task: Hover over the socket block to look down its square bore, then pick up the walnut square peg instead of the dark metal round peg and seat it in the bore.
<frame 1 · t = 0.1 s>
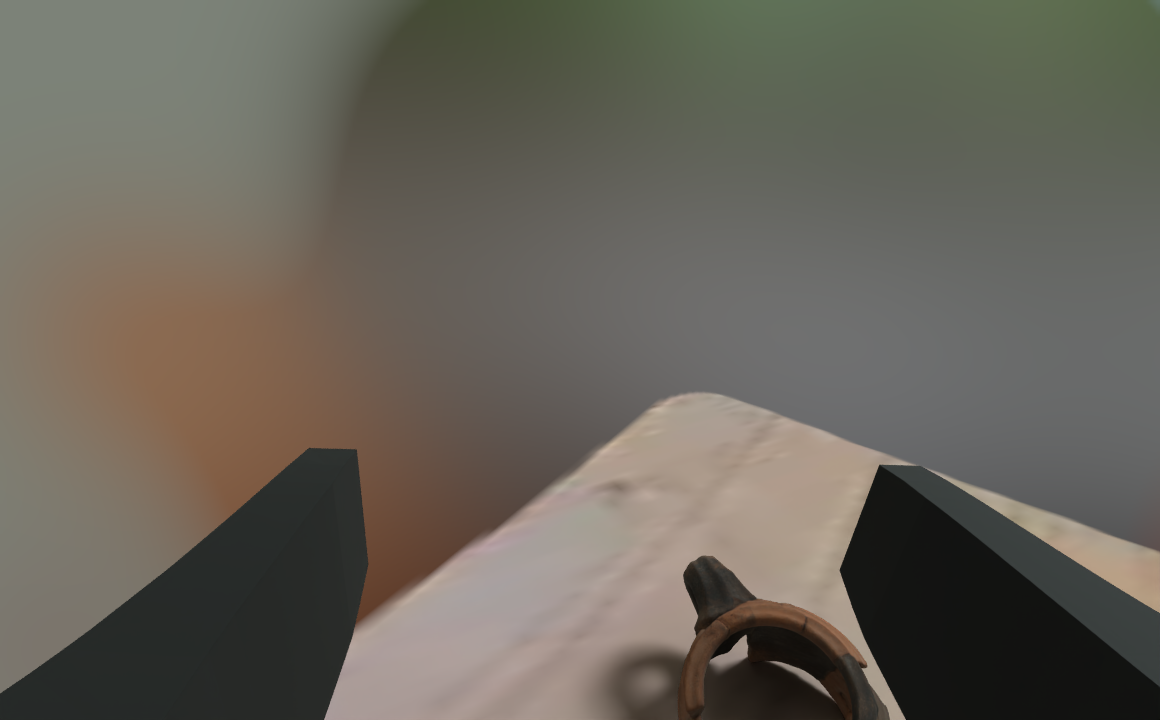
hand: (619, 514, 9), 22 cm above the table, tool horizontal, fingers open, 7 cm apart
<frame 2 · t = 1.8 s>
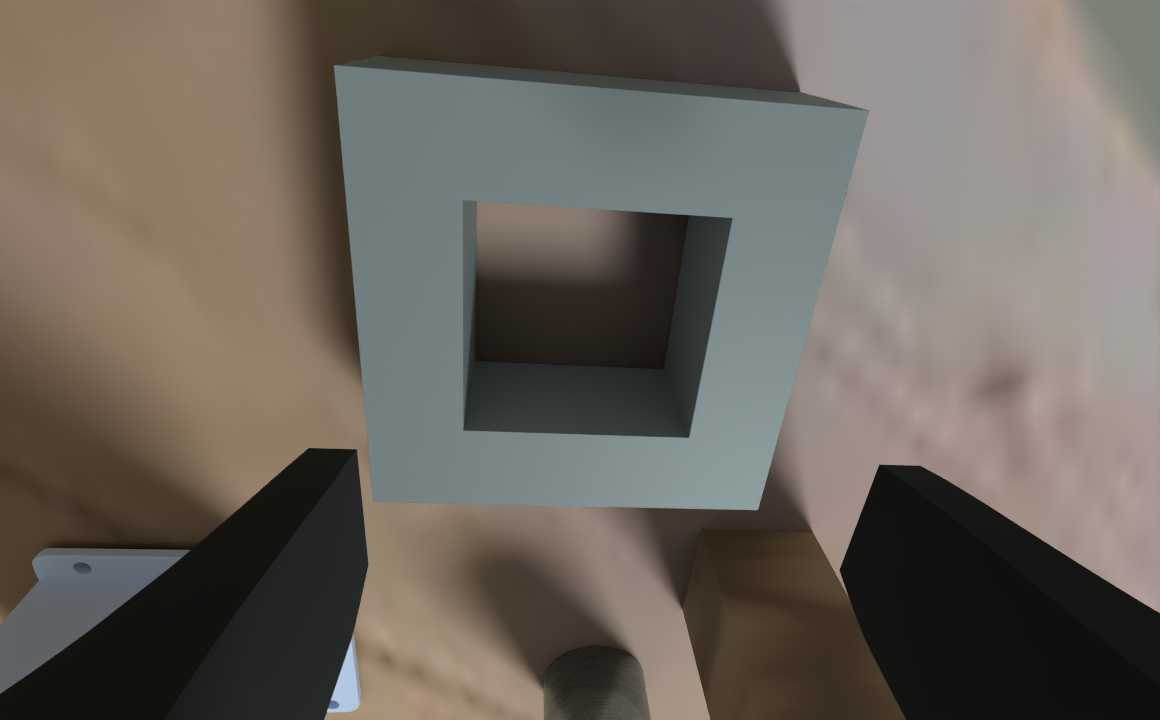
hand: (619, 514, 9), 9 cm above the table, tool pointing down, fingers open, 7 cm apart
socket block: (578, 276, 17), on the table
round peg: (593, 679, 25), on the table
square peg: (745, 571, 23), on the table
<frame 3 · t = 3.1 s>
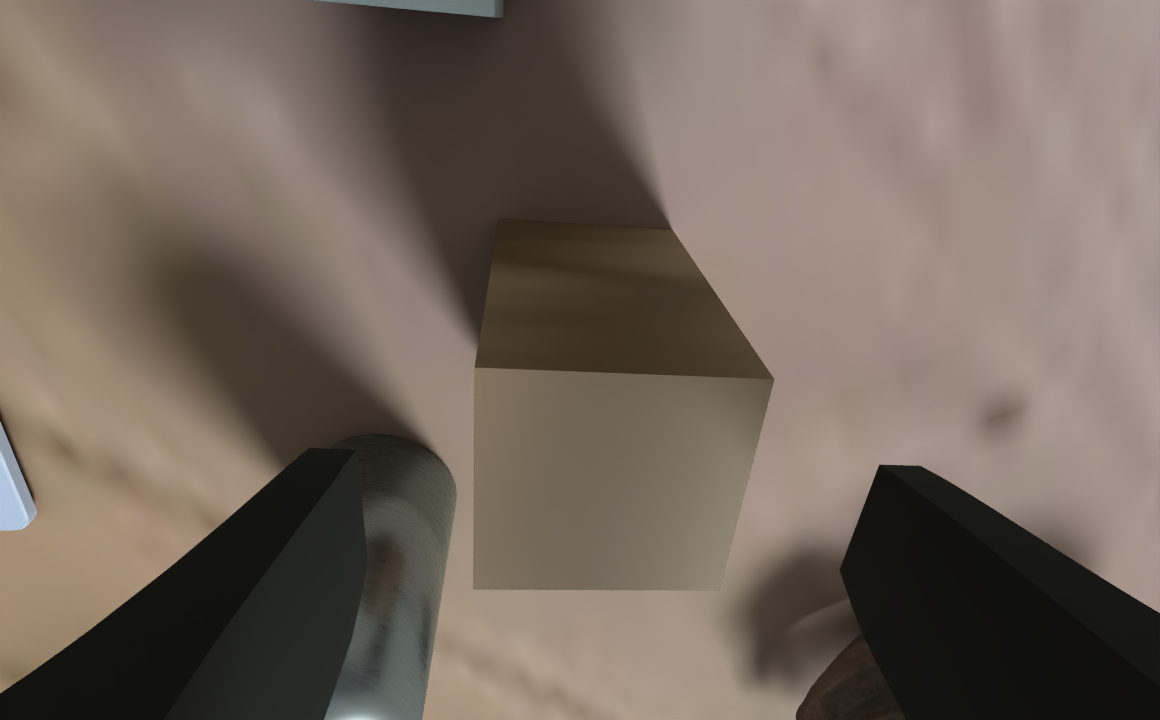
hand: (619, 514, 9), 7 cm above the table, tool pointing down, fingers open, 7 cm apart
round peg: (384, 493, 18), on the table
square peg: (579, 304, 15), on the table
pottery mug: (923, 667, 24), on the table
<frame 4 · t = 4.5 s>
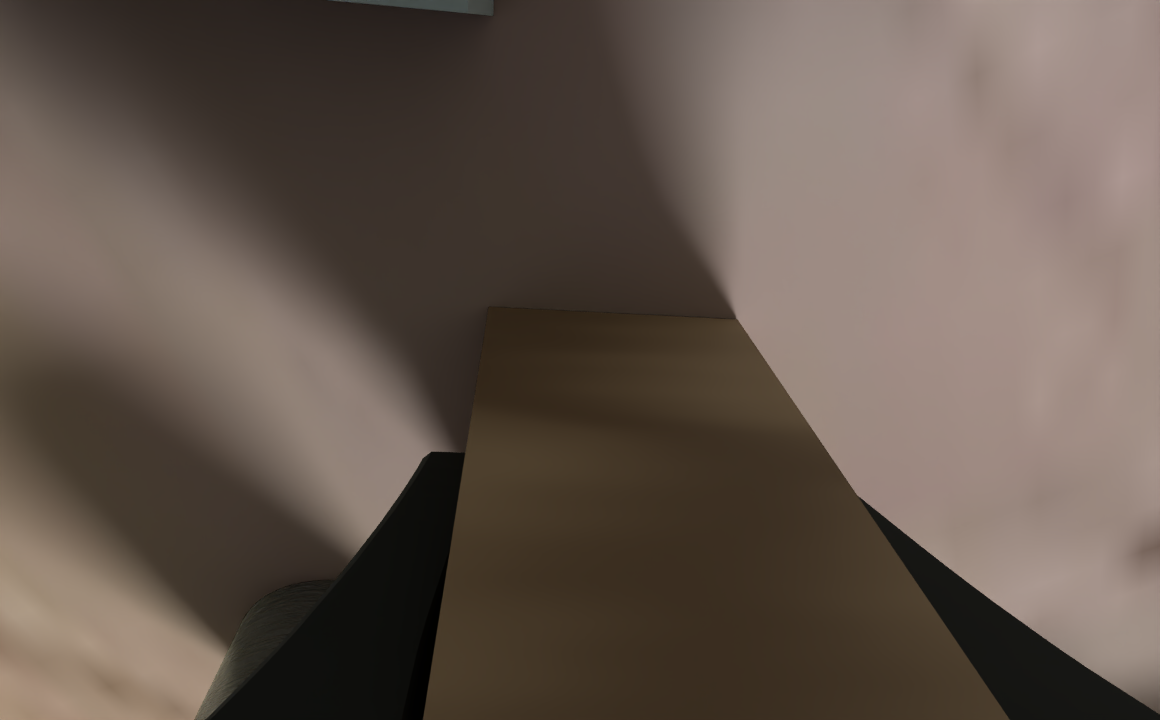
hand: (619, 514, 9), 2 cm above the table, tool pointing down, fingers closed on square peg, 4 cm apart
round peg: (339, 648, 13), on the table
square peg: (602, 418, 11), on the table, touching gripper
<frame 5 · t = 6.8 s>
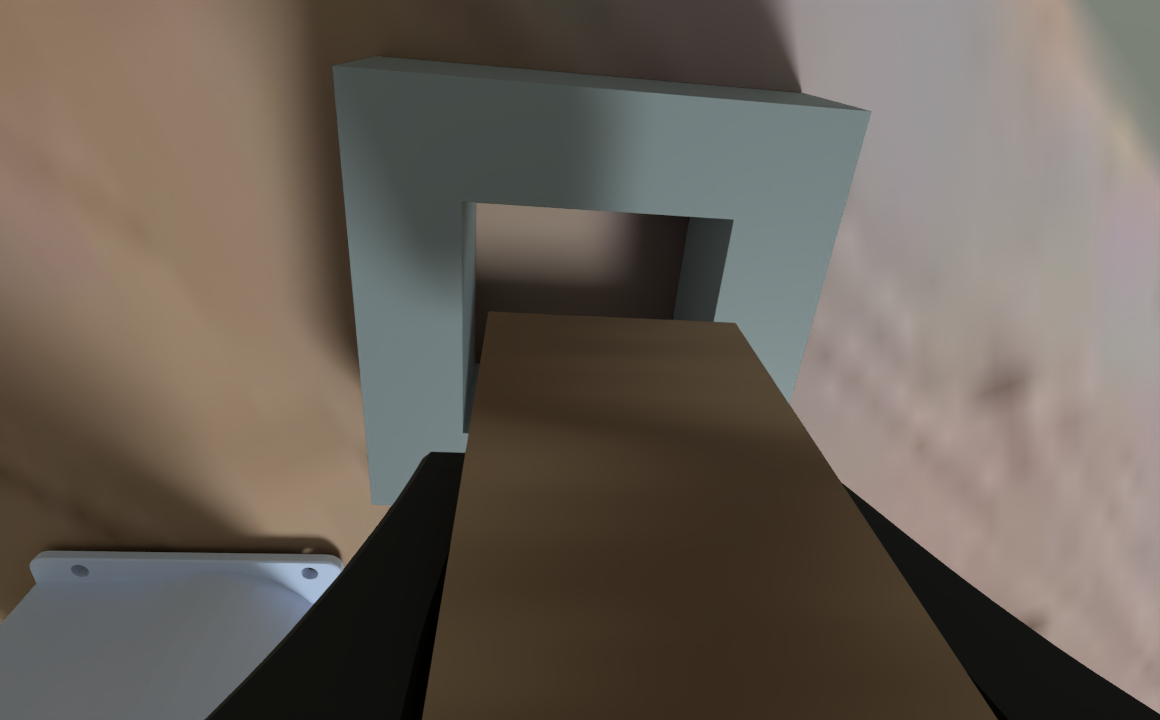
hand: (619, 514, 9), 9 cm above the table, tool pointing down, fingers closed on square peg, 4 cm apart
socket block: (578, 277, 17), on the table
square peg: (602, 421, 11), point 7 cm above the table, touching gripper
when the fingers open (4 cm above the table, at t = 9.0 s): square peg drops 2 cm, resting in socket block.
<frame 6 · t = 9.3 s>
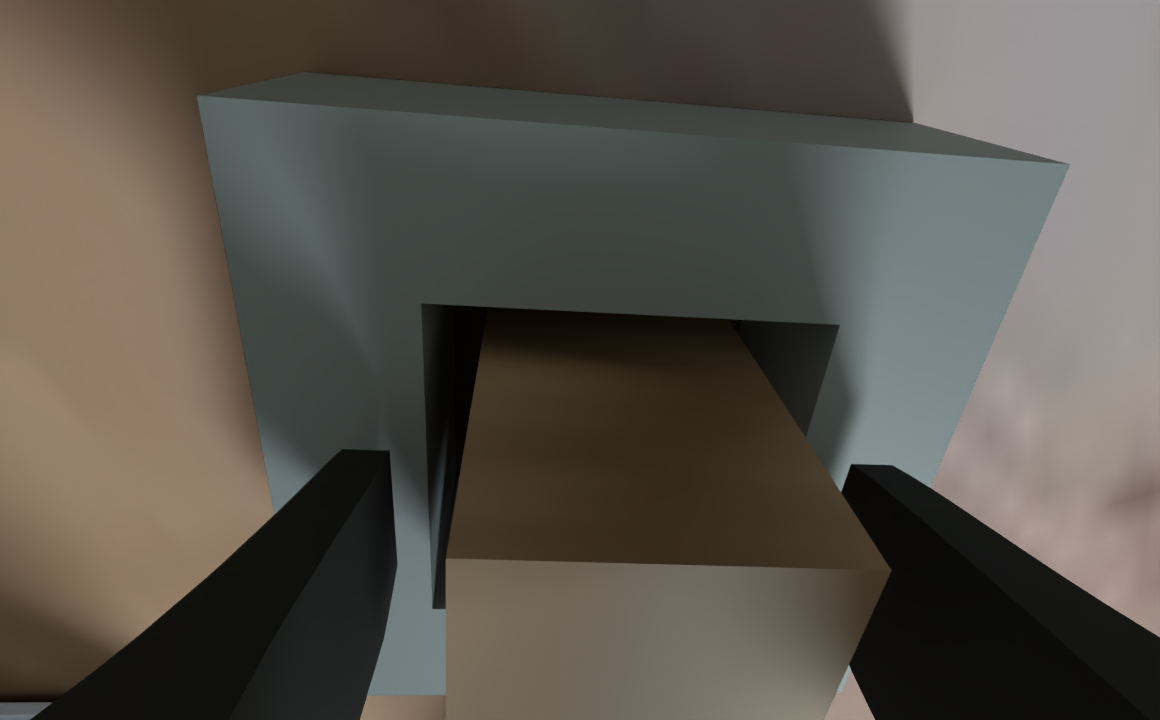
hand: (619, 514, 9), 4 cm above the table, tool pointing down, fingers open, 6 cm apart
socket block: (594, 369, 13), on the table
square peg: (590, 372, 13), resting in socket block
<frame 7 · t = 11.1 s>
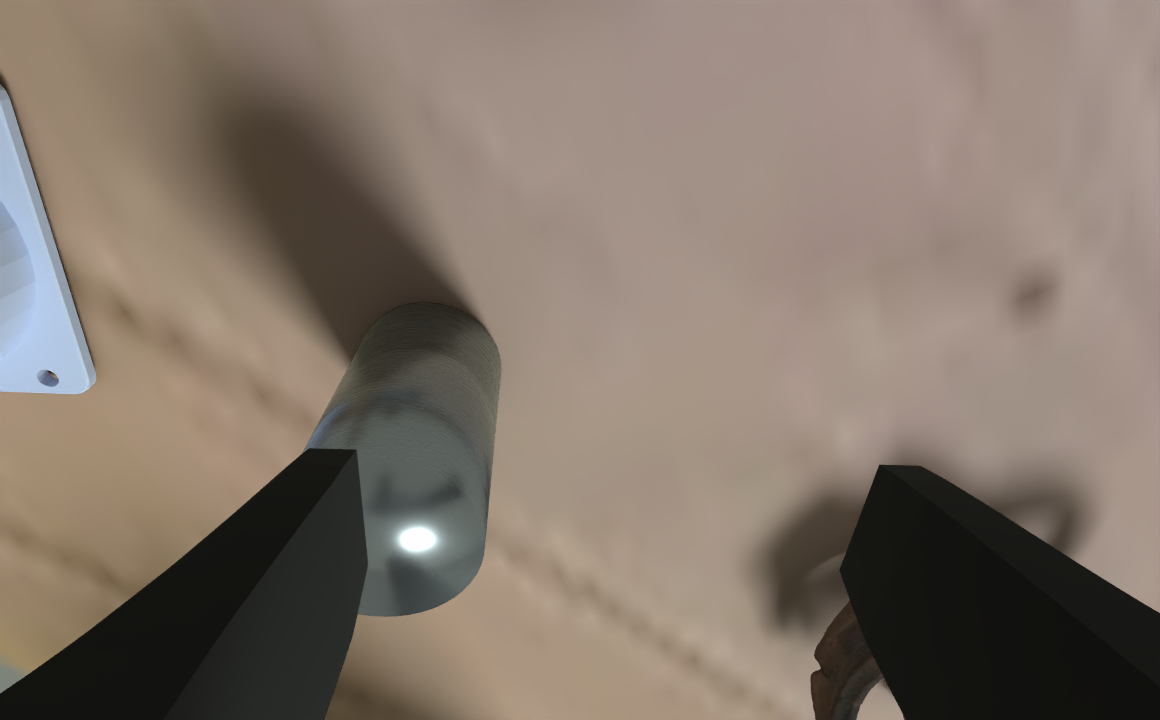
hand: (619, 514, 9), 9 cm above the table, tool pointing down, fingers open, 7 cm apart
round peg: (431, 366, 18), on the table
pottery mug: (934, 613, 25), on the table
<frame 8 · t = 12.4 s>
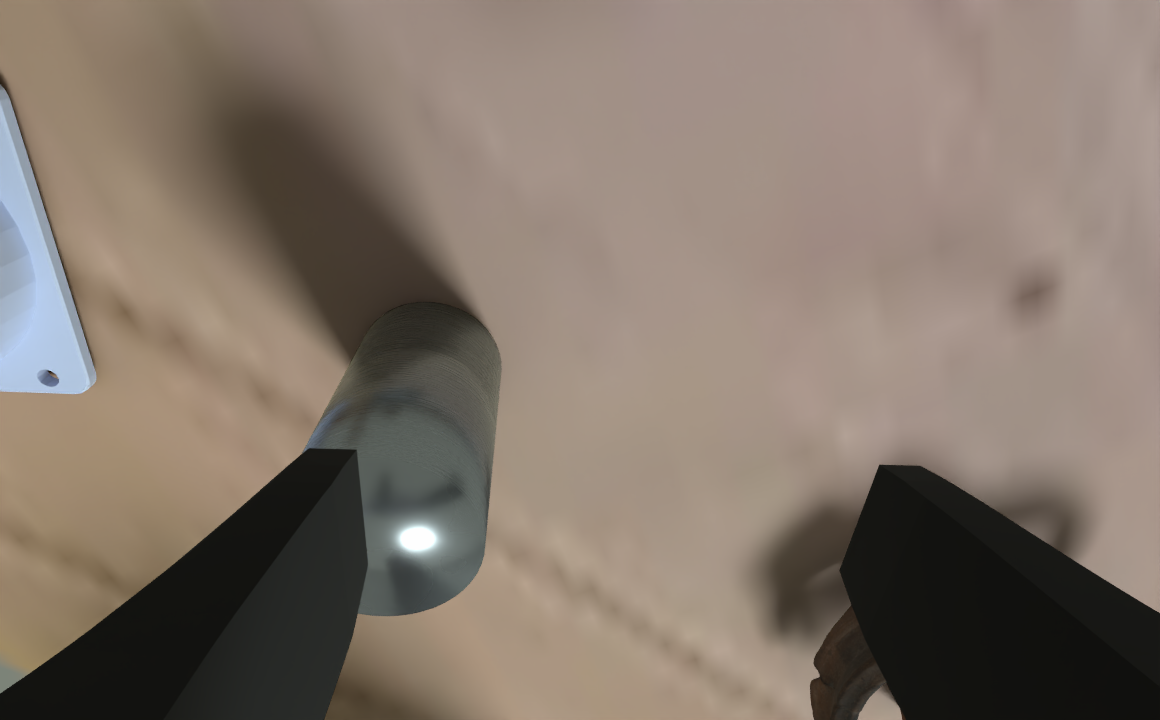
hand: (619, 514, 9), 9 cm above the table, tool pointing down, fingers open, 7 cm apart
round peg: (431, 366, 18), on the table
pottery mug: (932, 620, 25), on the table
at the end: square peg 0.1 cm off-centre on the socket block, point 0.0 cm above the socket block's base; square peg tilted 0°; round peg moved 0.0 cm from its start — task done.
